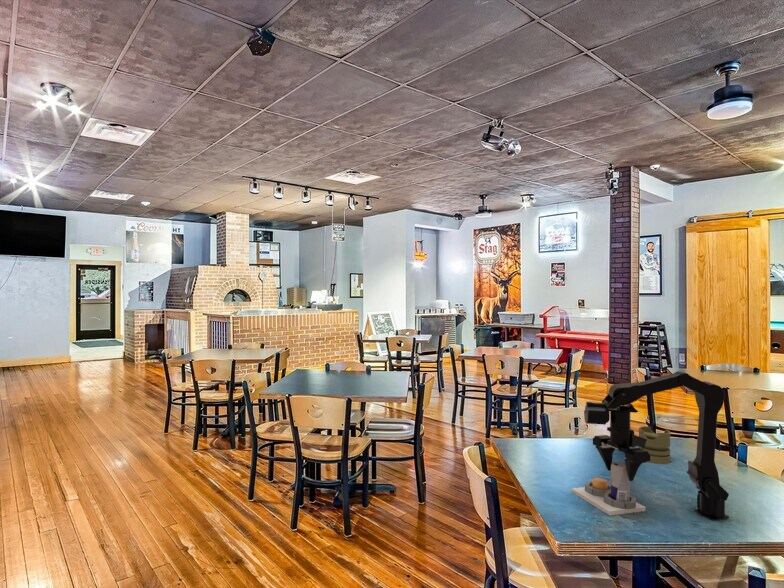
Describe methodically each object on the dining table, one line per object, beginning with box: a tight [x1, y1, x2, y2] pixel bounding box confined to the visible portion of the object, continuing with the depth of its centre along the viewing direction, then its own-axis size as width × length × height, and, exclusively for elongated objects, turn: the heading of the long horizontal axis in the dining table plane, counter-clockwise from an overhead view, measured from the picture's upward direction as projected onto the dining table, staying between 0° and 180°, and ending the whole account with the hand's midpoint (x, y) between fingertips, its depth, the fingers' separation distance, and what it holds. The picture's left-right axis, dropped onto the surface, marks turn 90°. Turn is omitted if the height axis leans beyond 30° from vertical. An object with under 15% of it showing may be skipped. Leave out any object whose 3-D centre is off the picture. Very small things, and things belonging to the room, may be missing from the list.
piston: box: [638, 425, 671, 465], centre depth 194 cm, size 11×12×11 cm
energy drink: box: [610, 461, 631, 502], centre depth 148 cm, size 5×5×12 cm
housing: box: [571, 477, 646, 516], centre depth 152 cm, size 18×13×5 cm
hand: (619, 475), depth 148 cm, fingers open, 9 cm apart
